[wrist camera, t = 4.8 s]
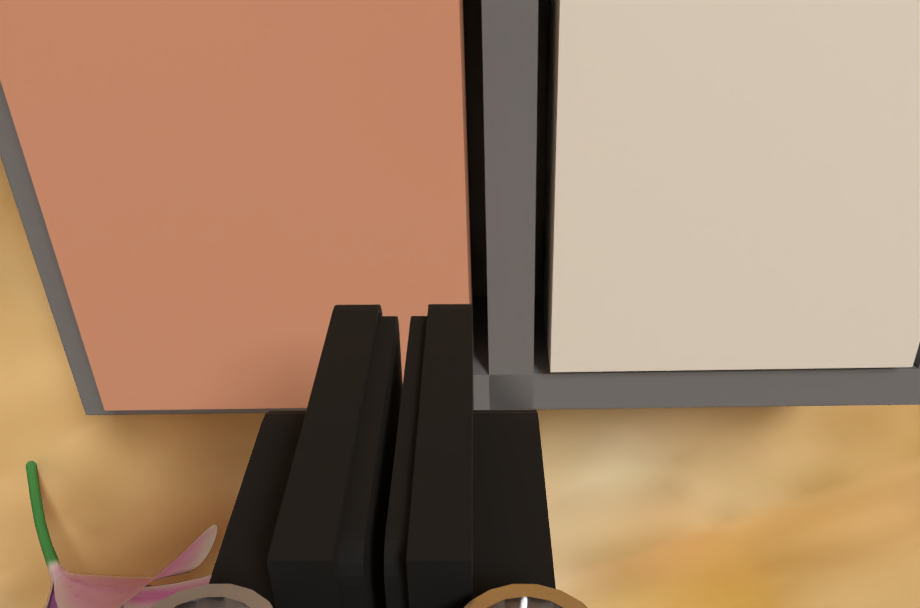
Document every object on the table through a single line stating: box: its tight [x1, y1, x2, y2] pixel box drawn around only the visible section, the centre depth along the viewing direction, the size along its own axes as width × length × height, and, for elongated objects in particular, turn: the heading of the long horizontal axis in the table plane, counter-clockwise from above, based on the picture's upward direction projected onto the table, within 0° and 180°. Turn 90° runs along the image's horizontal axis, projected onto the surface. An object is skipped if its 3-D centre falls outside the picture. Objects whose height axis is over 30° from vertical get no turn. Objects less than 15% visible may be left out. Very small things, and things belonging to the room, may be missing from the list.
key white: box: [543, 0, 920, 372], centre depth 17 cm, size 8×8×2 cm
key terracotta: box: [0, 0, 474, 411], centre depth 17 cm, size 8×8×2 cm
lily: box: [26, 461, 217, 608], centre depth 25 cm, size 12×12×10 cm
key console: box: [0, 0, 920, 415], centre depth 19 cm, size 11×20×4 cm, turn 92°
